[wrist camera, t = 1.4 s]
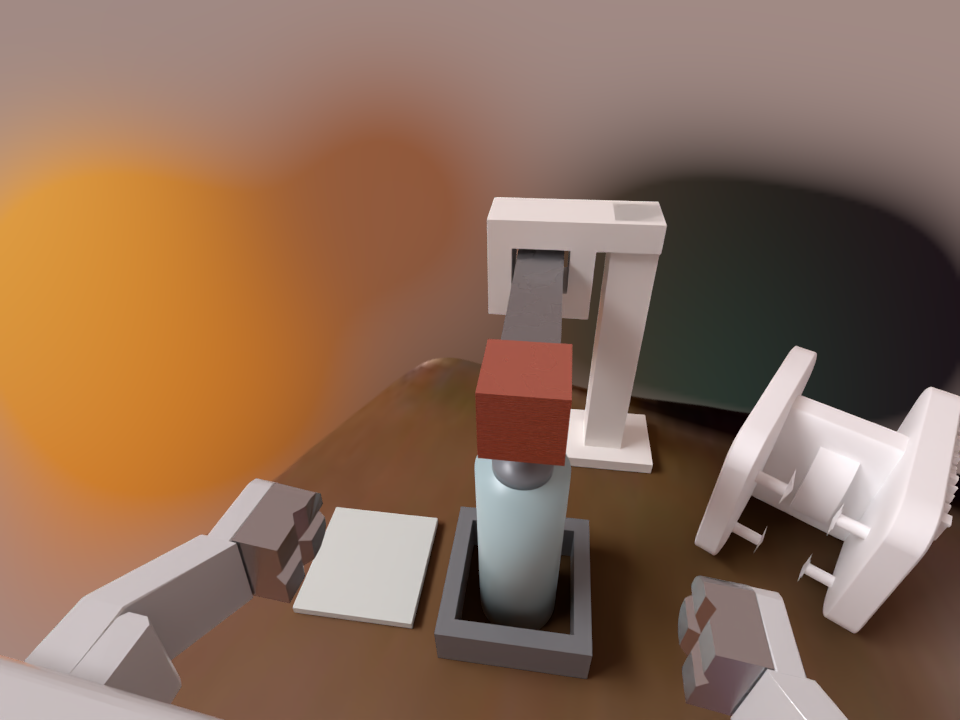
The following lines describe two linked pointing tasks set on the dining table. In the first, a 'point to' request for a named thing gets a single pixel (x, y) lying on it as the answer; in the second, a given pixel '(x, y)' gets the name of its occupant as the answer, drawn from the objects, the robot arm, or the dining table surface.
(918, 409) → the cable organizer
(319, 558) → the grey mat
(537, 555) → the pale blue bottle
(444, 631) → the socket collar
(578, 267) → the stand
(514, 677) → the dining table surface
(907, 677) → the dining table surface
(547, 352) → the bolt
